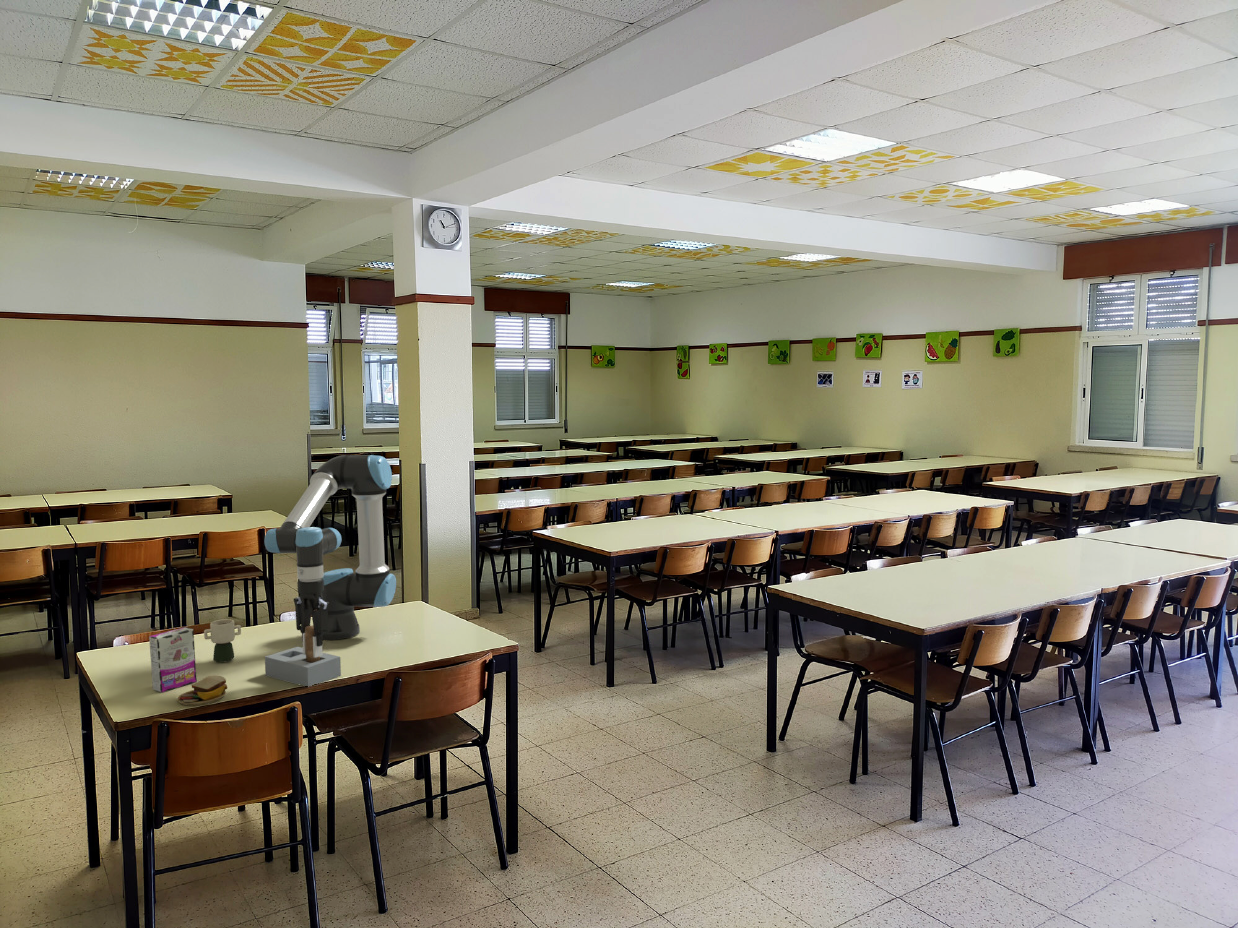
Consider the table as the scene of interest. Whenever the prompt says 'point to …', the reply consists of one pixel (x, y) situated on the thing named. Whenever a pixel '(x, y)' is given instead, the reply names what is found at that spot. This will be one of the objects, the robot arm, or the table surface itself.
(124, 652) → the table surface
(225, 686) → the toy sandwich meal
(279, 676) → the socket block
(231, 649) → the cream green trophy cup
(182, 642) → the candy bar box
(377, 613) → the table surface
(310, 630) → the walnut dowel
